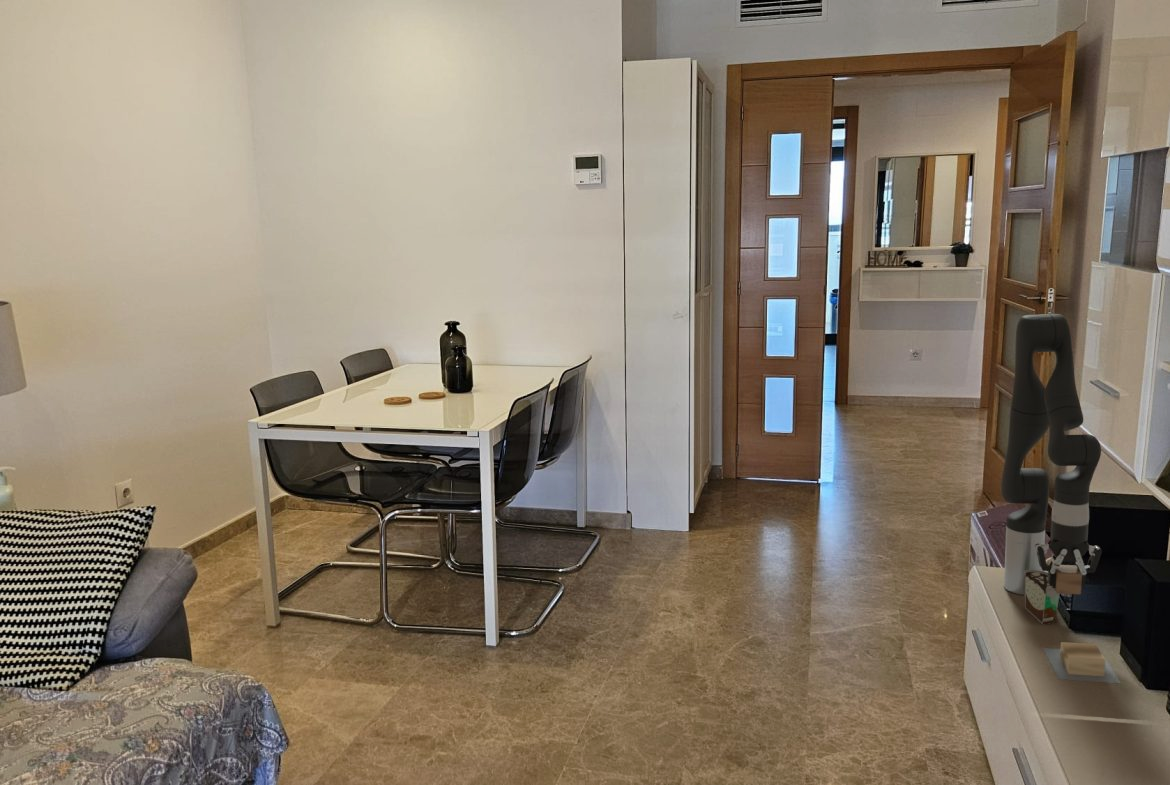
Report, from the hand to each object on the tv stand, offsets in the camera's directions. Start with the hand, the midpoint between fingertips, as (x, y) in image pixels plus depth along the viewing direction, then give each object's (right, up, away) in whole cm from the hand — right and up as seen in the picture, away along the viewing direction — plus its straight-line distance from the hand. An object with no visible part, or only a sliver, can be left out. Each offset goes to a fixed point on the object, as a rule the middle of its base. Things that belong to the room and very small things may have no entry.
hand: (1065, 587), depth 209 cm
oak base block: (-3, -15, -12) cm, 20 cm away
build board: (-3, -15, -11) cm, 19 cm away
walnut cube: (0, -1, 0) cm, 0 cm away
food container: (+3, -10, +14) cm, 18 cm away
